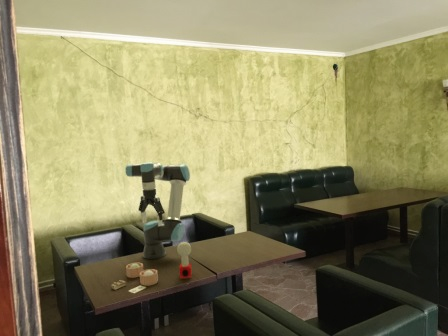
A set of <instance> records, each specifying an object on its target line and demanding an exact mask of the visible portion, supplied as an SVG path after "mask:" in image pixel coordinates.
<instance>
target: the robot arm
mask: <svg viewBox="0 0 448 336" xmlns="http://www.w3.org/2000/svg"><path fill="white" fill-rule="evenodd" d="M125 175H126V176H127V177H131V178H134V177H135V178H136V177H137V178H141V187H142V196H140V202H139V205H138V212H140V214H141V215H140V216H141V218H142V220H141V221H142V224H143V238H144V248H143V253H142V258H144V259H147V260H155V259H160V258H163V257H165V256H166V249H165V246H164V243H163V242H179V241H180V240H182V238H183V236H184V233H185V226H184V224H183V223H182V220H181V210H182V202H183V194H184V193H183V192H184V186H185V185H186V184H187V182H188V181H190V178H191V175H190V169H189V167H188V166H187V165H186V164H164V165H162V163H159V162H154V163H153V162H151V161H149V162H148V161H147V162H142V163H141V164H140V163H137V164H136V163H135V164H133V163H131V164H127V165H126V167H125ZM156 180H158V181H163V182H169V184H170V185H171V186H170V192H169V200H168V207H167V209H168V210H167V214H166V215H167V216H166V218H165V219H164V221H163V215H164V214H165V213H166V212H165V209H164V207H163V205H162V202H161V200H160V199H161V198H160V197H156V196H157V188H156V187H157V186H156ZM149 205H150V206H152V208H154V210H155V212H156V213H157V220H152V221H148V220H147V219H148V217H147V210H146V209H147V208H148V206H149Z"/></svg>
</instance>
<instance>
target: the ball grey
mask: <svg viewBox="0 0 448 336" xmlns="http://www.w3.org/2000/svg"><path fill="white" fill-rule="evenodd" d="M147 270H148V269H147ZM152 274H154V273H153V272H152V271H150V270H148V271H146V272H145V273H144V275H145V276H146V275H152Z"/></svg>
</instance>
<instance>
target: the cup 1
mask: <svg viewBox="0 0 448 336" xmlns="http://www.w3.org/2000/svg"><path fill="white" fill-rule="evenodd" d="M132 264H138V265H139V266H140V267H137V268H130V266H131V265H132ZM125 266H126V267H125V270H126V277H128V278H130V279H132V278H133V279H135V278H140V272H142V271H144V270H145V269H144V263H142V262H131V263H129V264H127V265H125Z"/></svg>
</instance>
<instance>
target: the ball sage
mask: <svg viewBox="0 0 448 336" xmlns="http://www.w3.org/2000/svg"><path fill="white" fill-rule="evenodd" d="M137 267H140V266H139V265H138V264H132V265H131V266H130V268H137Z"/></svg>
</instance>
